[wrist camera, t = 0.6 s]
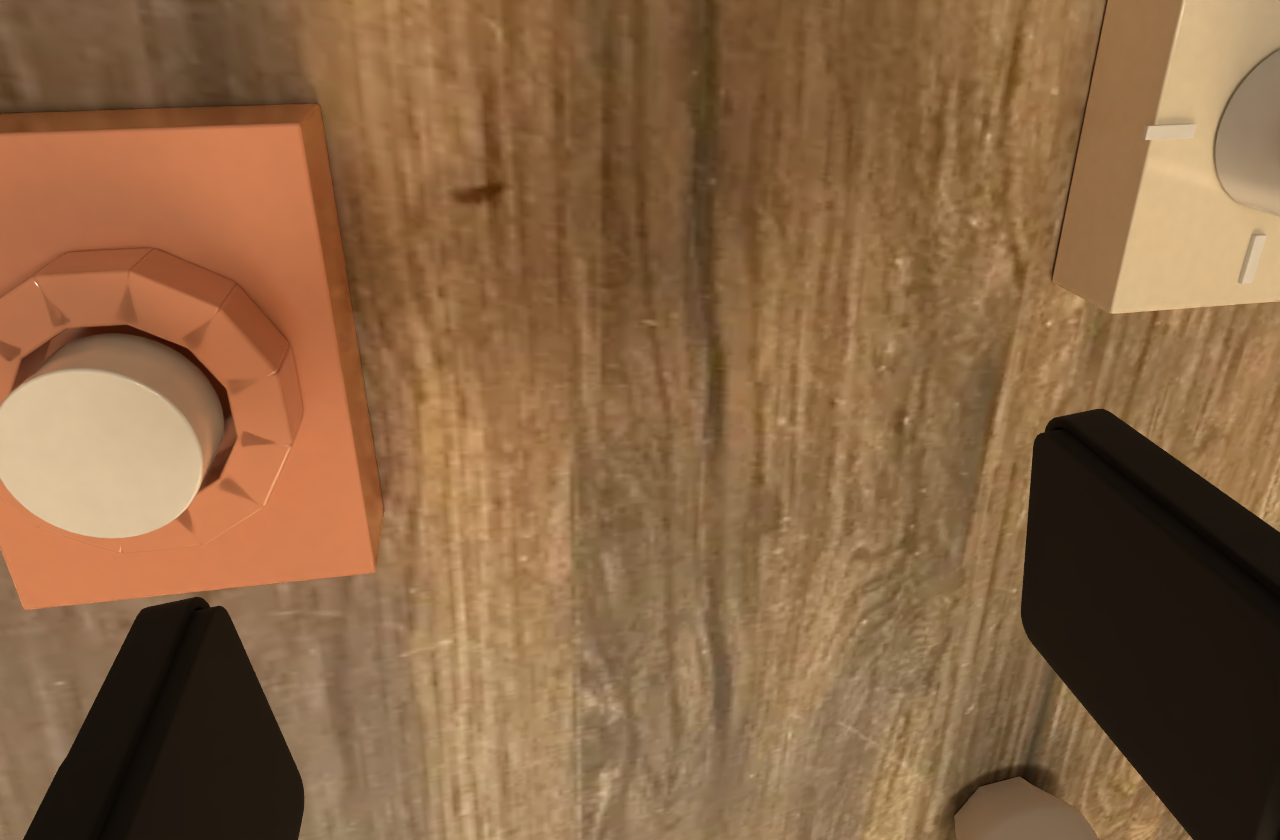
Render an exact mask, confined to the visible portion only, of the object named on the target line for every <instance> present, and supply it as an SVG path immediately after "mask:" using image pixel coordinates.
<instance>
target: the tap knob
mask: <svg viewBox="0 0 1280 840" xmlns="http://www.w3.org/2000/svg"><path fill="white" fill-rule="evenodd" d="M1215 163H1216V169H1217V173H1218V176H1219V179H1220V181H1221V183H1222V185H1223V187H1224V189H1225V190H1226V191H1227V193H1228V194H1229V195H1230V196H1231V197H1232V198H1233V199H1234V200H1235V201H1236V202H1238V203H1240V204H1242V205H1243V206H1246V207H1249V208H1251V209H1255V210H1258V211H1261V212H1264V213H1267V214H1271V215H1274V216H1277V217H1280V50H1278V51H1276V52H1275V53H1273V54H1272V55H1270V56H1269V57H1268V58H1266V59H1265V60H1264V61H1263V62H1261V63H1260V64H1259V65H1258V66H1257V67H1256V68H1255V69H1254V70H1253V71H1252V72H1251V73H1250V74H1249V75H1248V76H1247V77H1246V79H1245V80H1244V81H1243V82H1242V83H1241V85H1240V86H1239V88H1238V89H1237V91H1236V92H1235V94H1234V95H1233V97H1232V98H1231V100H1230V102H1229V104H1228V106H1227V108H1226V110H1225V112H1224V115H1223V117H1222V120H1221V123H1220V126H1219V129H1218V134H1217V138H1216V146H1215Z"/></svg>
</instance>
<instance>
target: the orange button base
mask: <svg viewBox="0 0 1280 840" xmlns="http://www.w3.org/2000/svg"><path fill="white" fill-rule="evenodd" d="M105 333H120V334H130V335H136V336H140V337H145V338H148V339H151V340H154V341H157V342H160V343H162V344H164V345H166V346H169V347H171V348H172V349H174V350H176V351H177V352H179V353H181V354H182V355H184V356H185V357H186V358H188V359H189V360H190V361H192V362H193V363H194V364H195V365H196V366H197V367H198V368H199V369H200V370H201V371H202V372H203V374H204V375H205V376H206V377H207V378H208V380H209V381H210V383H211V384H212V386H213V387H214V389H215V391H216V393H217V395H218V397H219V400H220V403H221V406H222V410H223V416H224V433H223V439H222V442H221V445H220V448H219V450H218V452H217V454H216V456H215V458H214V460H213V462H212V464H211V466H210V469H209V471H208V473H207V475H206V477H205V479H204V481H203V483H202V485H201V487H200V489H199V491H198V492H197V494H196V496H195V498H194V500H193V501H192V503H191V504H190V505H189V507H188V508H187V509H186V510H185V511H184V512H183V513H182V514H181V515H180V516H179V517H177V518H176V519H174V520H173V521H172V522H170V523H168V524H167V525H165V526H163V527H161V528H159V529H157V530H154V531H151V532H149V533H146V534H142V535H138V536H133V537H126V538H96V537H90V536H84V535H80V534H76V533H72V532H69V531H66V530H63V529H61V528H58V527H56V526H54V525H52V524H50V523H47V522H45V521H44V520H42V519H41V518H39V517H37V516H36V515H34V514H33V513H31V512H30V511H29V510H27V509H26V508H25V507H24V506H22V505H21V504H20V503H19V502H18V501H17V500H16V499H15V498H14V497H13V496H12V494H11V493H10V492H9V491H8V490H7V488H6V487H5V485H4V484H3V482H2V481H1V479H0V549H1V552H2V554H3V557H4V559H5V562H6V564H7V567H8V570H9V572H10V575H11V577H12V580H13V583H14V585H15V588H16V590H17V593H18V596H19V598H20V601H21V603H22V606H23V608H24V609H26V610H29V609H38V608H48V607H57V606H66V605H76V604H85V603H95V602H104V601H113V600H123V599H132V598H142V597H151V596H160V595H170V594H179V593H189V592H198V591H207V590H217V589H226V588H236V587H245V586H254V585H264V584H273V583H283V582H292V581H301V580H311V579H320V578H330V577H339V576H349V575H358V574H367V573H374V572H375V571H376V566H377V559H378V552H379V545H380V538H381V531H382V524H383V517H384V507H383V501H382V495H381V488H380V482H379V476H378V469H377V463H376V457H375V450H374V444H373V438H372V431H371V425H370V419H369V412H368V406H367V400H366V393H365V387H364V381H363V374H362V368H361V362H360V355H359V349H358V343H357V336H356V330H355V324H354V317H353V311H352V305H351V299H350V292H349V286H348V280H347V273H346V267H345V261H344V254H343V248H342V242H341V235H340V229H339V223H338V216H337V210H336V204H335V197H334V191H333V185H332V178H331V172H330V166H329V159H328V153H327V147H326V140H325V134H324V128H323V121H322V115H321V109H320V106H319V104H316V103H315V104H284V105H254V106H223V107H192V108H161V109H130V110H99V111H69V112H38V113H7V114H0V405H1V404H2V402H3V401H4V400H5V399H6V398H7V396H8V395H9V394H10V393H11V392H12V391H13V390H14V389H15V388H16V387H17V386H18V385H19V384H20V383H22V382H23V381H24V380H25V379H26V378H27V377H28V376H29V375H30V374H31V373H32V372H33V371H34V370H35V369H36V368H37V367H38V366H39V365H40V364H41V363H42V362H44V361H45V360H46V359H47V358H48V357H49V356H50V355H51V354H52V353H54V352H55V351H56V350H57V349H59V348H60V347H62V346H64V345H66V344H67V343H69V342H72V341H74V340H77V339H79V338H83V337H87V336H91V335H97V334H105Z"/></svg>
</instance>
